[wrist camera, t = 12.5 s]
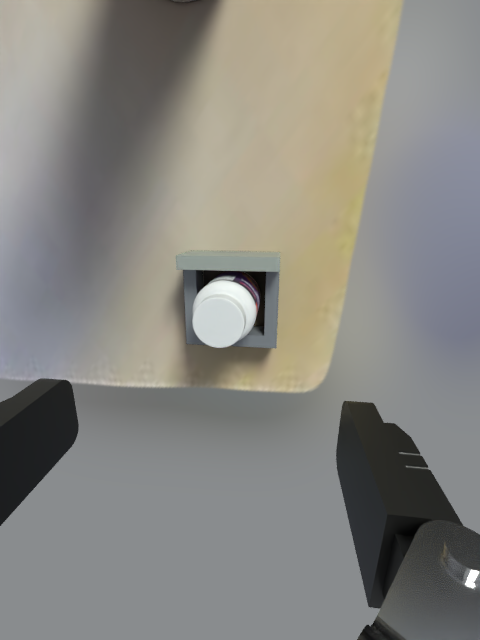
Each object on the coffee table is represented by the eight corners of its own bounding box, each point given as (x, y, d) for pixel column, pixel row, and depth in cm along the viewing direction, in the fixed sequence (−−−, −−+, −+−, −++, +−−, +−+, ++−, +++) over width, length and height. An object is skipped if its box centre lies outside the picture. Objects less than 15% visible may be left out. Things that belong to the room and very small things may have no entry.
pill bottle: (267, 312, 33) (262, 347, 24) (218, 325, 35) (196, 364, 25) (252, 262, 32) (240, 279, 23) (202, 277, 33) (172, 299, 24)
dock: (190, 250, 33) (175, 255, 28) (280, 251, 32) (280, 257, 27) (194, 334, 35) (180, 351, 30) (276, 337, 34) (276, 356, 29)
